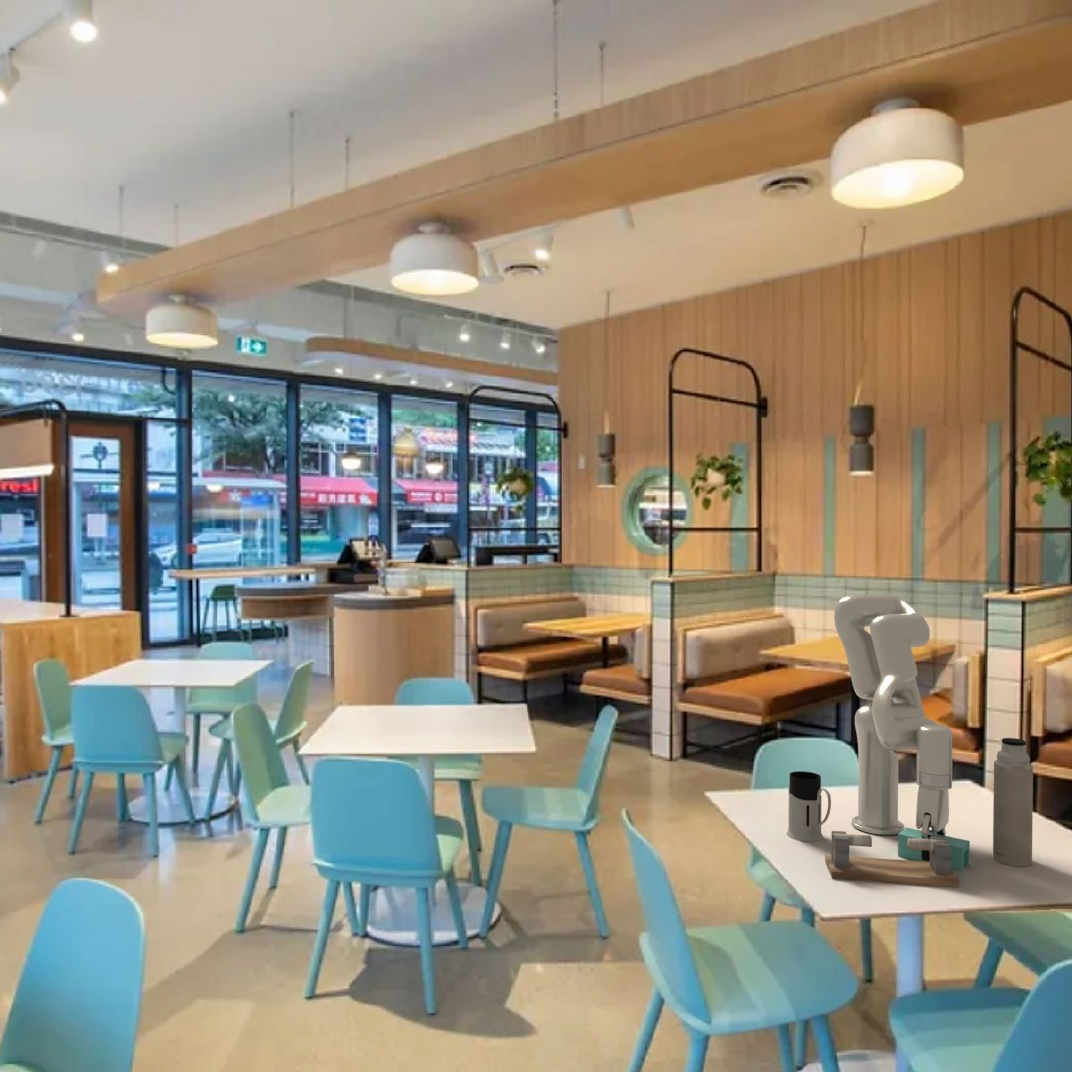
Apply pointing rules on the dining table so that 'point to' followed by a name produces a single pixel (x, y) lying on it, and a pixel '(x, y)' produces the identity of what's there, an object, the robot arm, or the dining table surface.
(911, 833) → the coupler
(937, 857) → the shaft stand
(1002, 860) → the thermos bottle
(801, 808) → the glass holder
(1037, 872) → the dining table surface
